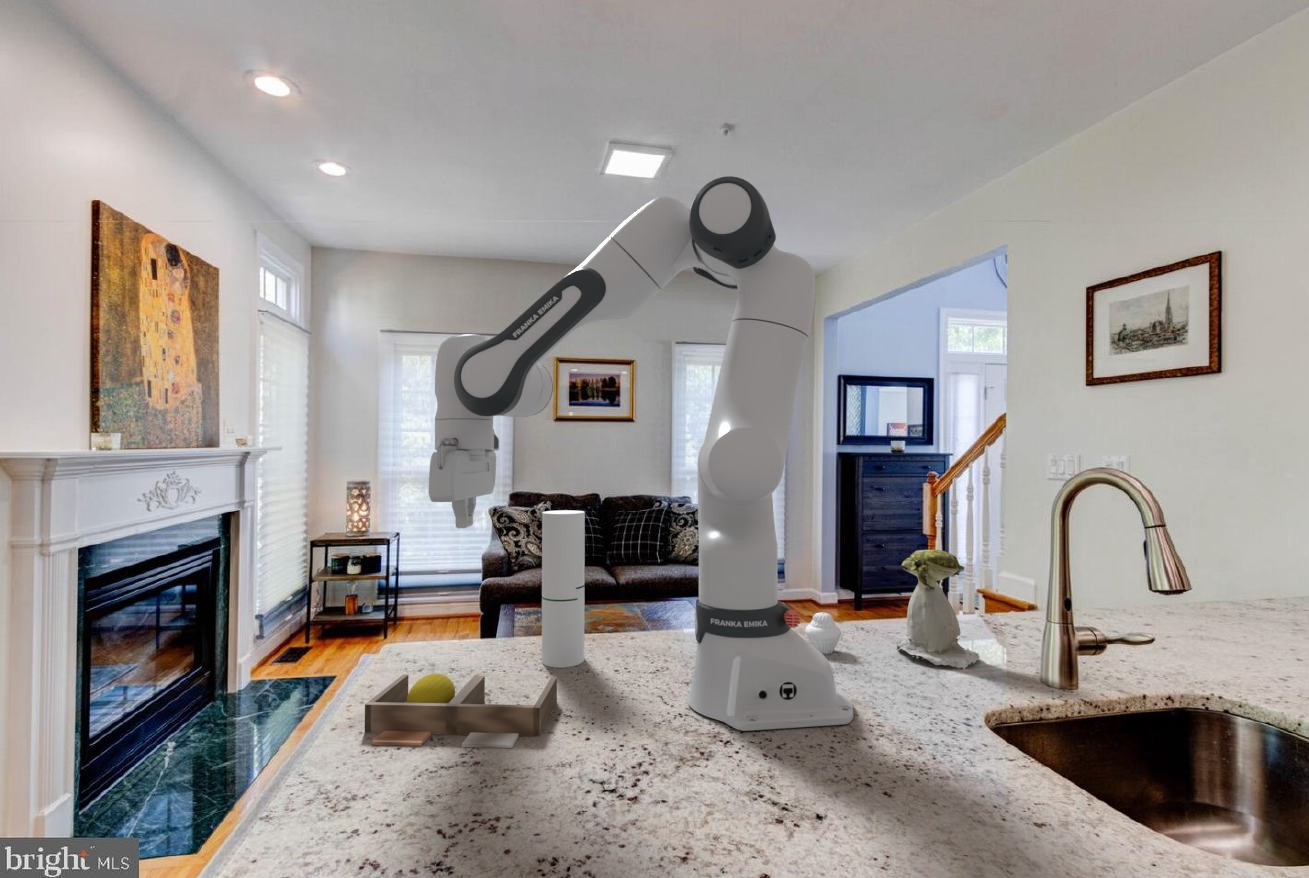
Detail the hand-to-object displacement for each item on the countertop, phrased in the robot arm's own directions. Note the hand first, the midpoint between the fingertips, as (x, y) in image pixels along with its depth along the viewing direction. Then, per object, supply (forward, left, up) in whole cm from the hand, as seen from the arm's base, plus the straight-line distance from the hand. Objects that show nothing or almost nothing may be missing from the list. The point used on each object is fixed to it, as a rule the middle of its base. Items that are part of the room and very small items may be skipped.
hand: (464, 527), depth 100 cm
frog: (-78, -14, -24) cm, 83 cm away
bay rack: (-5, +16, -23) cm, 29 cm away
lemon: (-1, +11, -21) cm, 23 cm away
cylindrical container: (-14, -9, -24) cm, 29 cm away
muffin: (-59, -16, -24) cm, 66 cm away
